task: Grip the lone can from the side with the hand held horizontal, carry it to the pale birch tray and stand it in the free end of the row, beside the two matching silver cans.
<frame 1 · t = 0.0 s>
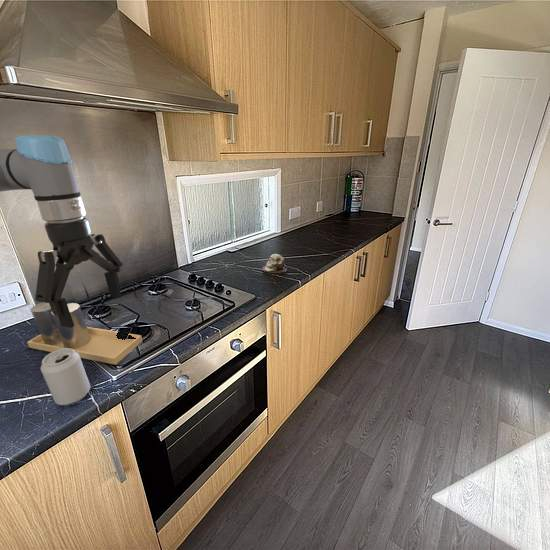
hand: (94, 310, 68), 21 cm above the worktop, tool pointing down, fingers open, 13 cm apart
silver can 2: (77, 342, 91), resting on tray
can: (74, 396, 72), on the worktop
tray: (86, 345, 90), on the worktop
skull: (274, 270, 142), on the worktop
silver can 1: (57, 338, 93), resting on tray
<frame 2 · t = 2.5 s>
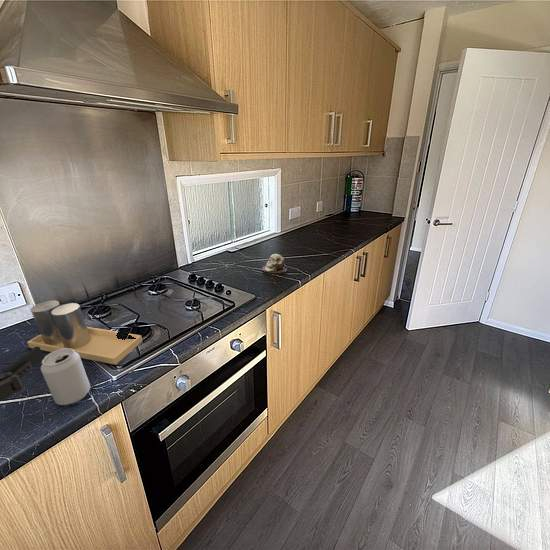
hand: (7, 351, 55), 20 cm above the worktop, tool horizontal, fingers open, 13 cm apart
nothing on the worktop moved.
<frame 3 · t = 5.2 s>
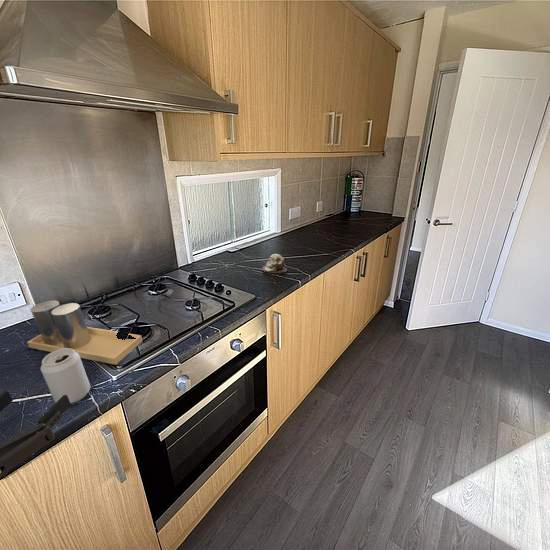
hand: (38, 397, 62), 7 cm above the worktop, tool horizontal, fingers open, 13 cm apart
nothing on the worktop moved.
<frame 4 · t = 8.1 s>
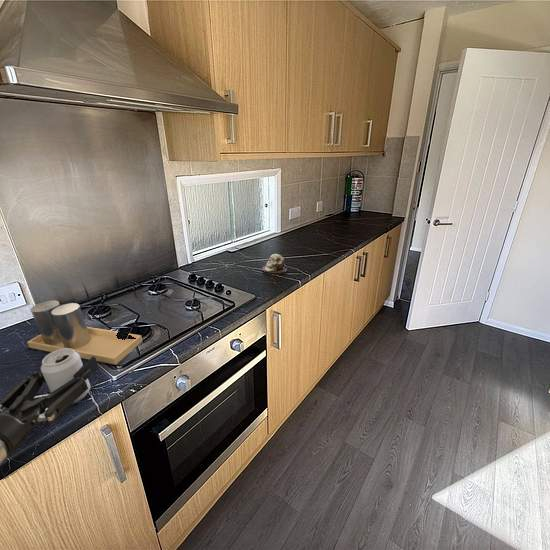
hand: (80, 360, 73), 7 cm above the worktop, tool horizontal, fingers closed on can, 7 cm apart
can: (74, 396, 72), on the worktop, touching gripper
everything else where it was.
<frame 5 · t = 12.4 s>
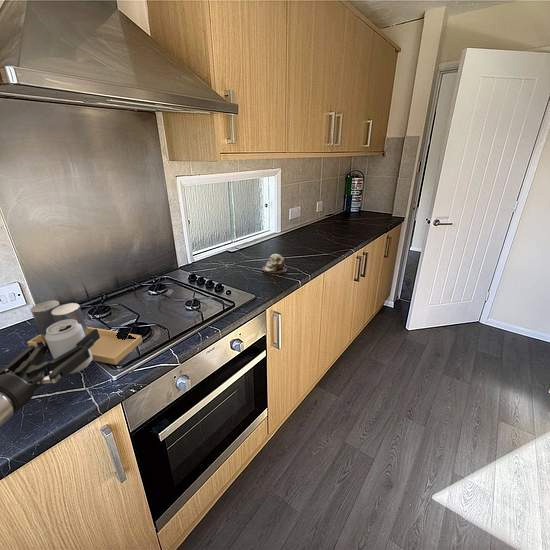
hand: (82, 332, 76), 12 cm above the worktop, tool horizontal, fingers closed on can, 7 cm apart
can: (76, 366, 74), point 5 cm above the worktop, touching gripper
everything else where it was.
when the fingers open (7 cm above the worktop, at t = 17.1 s): can stays where it is, resting on tray.
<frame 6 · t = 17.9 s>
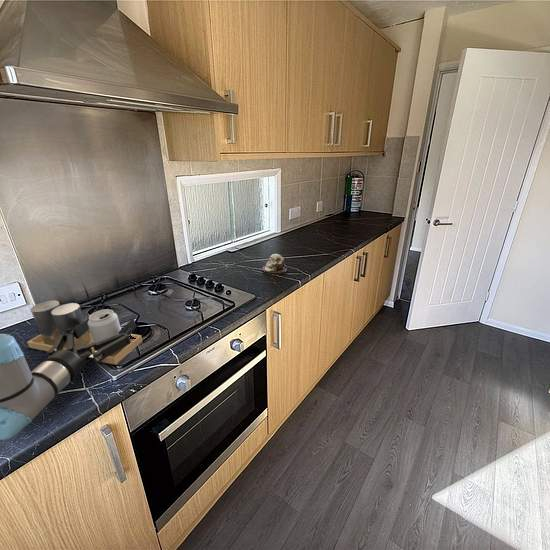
hand: (112, 322, 88), 8 cm above the worktop, tool horizontal, fingers open, 13 cm apart
can: (111, 349, 88), resting on tray
everything else where it was.
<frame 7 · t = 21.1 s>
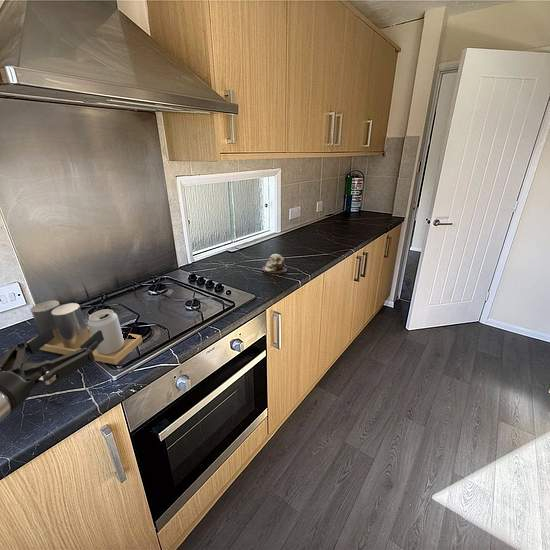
hand: (76, 333, 74), 12 cm above the worktop, tool horizontal, fingers open, 13 cm apart
nothing on the worktop moved.
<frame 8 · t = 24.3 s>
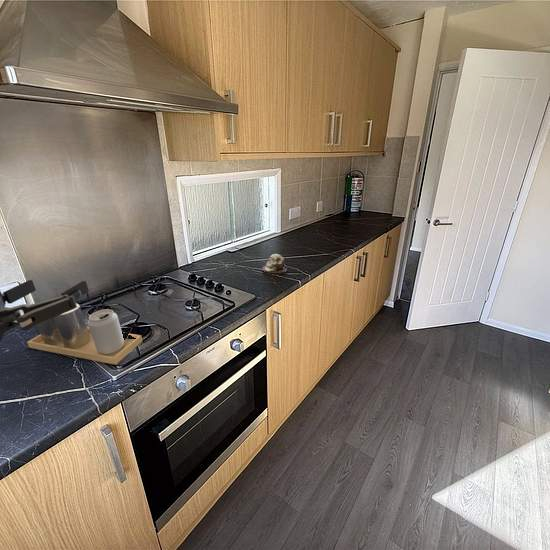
hand: (59, 285, 69), 26 cm above the worktop, tool horizontal, fingers open, 13 cm apart
nothing on the worktop moved.
at the end: can inside the target area in the tray (0.2 cm from its centre), point 0.3 cm above the tray's base; can tilted 0°; can 13.1 cm from the silver can 2 (horizontally) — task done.
